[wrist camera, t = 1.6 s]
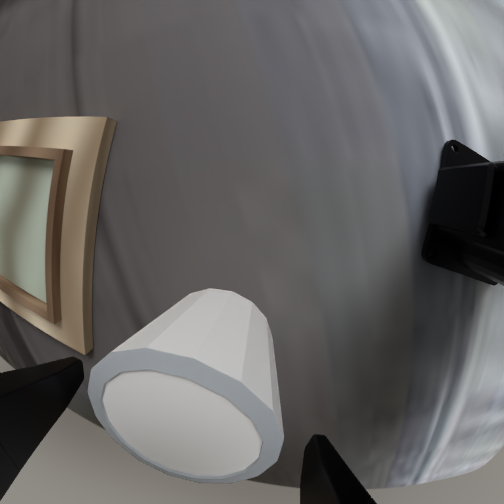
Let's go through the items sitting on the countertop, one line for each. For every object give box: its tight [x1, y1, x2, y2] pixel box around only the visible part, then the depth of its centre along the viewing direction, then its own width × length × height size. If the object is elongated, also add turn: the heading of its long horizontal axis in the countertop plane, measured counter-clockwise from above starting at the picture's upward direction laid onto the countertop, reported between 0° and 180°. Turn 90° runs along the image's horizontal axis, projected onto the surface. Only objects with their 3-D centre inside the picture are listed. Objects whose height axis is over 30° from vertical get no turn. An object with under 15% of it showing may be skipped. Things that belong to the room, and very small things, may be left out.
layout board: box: [0, 117, 117, 355], centre depth 13 cm, size 14×14×2 cm
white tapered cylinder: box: [88, 288, 284, 483], centre depth 11 cm, size 7×7×7 cm
